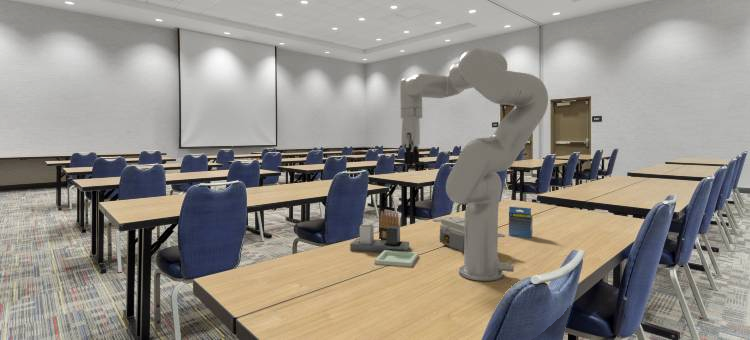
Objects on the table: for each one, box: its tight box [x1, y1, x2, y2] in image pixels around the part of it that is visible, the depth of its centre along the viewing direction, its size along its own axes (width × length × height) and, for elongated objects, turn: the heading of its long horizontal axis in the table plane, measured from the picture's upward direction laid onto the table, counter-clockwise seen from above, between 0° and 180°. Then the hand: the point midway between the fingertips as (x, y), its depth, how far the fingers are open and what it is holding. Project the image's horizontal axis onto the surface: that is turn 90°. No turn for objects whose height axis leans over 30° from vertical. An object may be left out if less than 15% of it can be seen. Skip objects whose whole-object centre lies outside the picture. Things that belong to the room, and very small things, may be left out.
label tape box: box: [508, 206, 533, 239], centre depth 167 cm, size 9×4×12 cm, turn 58°
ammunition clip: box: [378, 210, 400, 240], centre depth 161 cm, size 11×2×12 cm, turn 40°
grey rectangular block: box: [359, 222, 375, 244], centre depth 149 cm, size 4×4×10 cm
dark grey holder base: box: [349, 225, 410, 254], centre depth 151 cm, size 20×15×9 cm
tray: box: [373, 250, 419, 268], centre depth 134 cm, size 12×12×2 cm
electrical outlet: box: [432, 216, 506, 253], centre depth 149 cm, size 12×28×10 cm, turn 35°
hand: (412, 163), depth 143 cm, fingers open, 9 cm apart
